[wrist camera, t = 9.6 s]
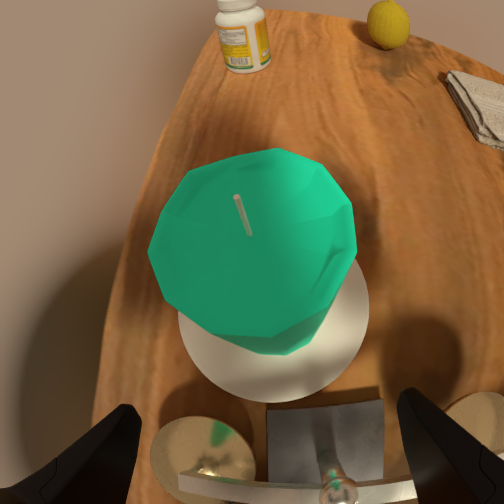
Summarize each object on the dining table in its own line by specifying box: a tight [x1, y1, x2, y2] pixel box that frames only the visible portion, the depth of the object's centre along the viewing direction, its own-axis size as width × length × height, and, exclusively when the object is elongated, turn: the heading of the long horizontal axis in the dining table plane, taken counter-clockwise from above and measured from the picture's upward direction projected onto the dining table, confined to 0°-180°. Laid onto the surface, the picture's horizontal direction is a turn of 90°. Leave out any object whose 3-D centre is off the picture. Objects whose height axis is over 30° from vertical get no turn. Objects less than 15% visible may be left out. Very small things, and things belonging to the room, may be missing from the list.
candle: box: [147, 148, 357, 356], centre depth 12 cm, size 6×6×12 cm
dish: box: [178, 258, 369, 403], centre depth 18 cm, size 12×12×1 cm
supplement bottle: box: [215, 0, 271, 74], centre depth 25 cm, size 5×5×10 cm
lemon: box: [367, 0, 410, 50], centre depth 25 cm, size 6×6×8 cm
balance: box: [150, 391, 504, 504], centre depth 11 cm, size 7×21×8 cm, turn 92°
